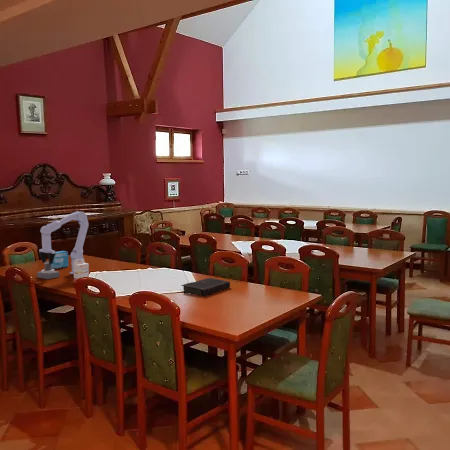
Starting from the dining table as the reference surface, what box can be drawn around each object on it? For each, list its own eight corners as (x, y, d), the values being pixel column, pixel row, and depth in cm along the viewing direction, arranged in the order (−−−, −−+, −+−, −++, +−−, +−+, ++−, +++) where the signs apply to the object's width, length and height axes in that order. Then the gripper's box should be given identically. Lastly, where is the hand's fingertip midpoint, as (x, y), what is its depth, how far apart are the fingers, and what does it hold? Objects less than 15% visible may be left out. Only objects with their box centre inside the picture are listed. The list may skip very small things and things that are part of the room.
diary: (230, 289, 286) (230, 281, 285) (205, 298, 266) (205, 289, 265) (206, 284, 297) (206, 277, 296) (180, 293, 276) (180, 284, 276)
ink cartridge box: (78, 283, 305) (77, 260, 303) (73, 282, 308) (72, 259, 306) (89, 280, 311) (88, 258, 310) (85, 279, 314) (84, 258, 313)
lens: (53, 271, 325) (52, 261, 324) (48, 272, 321) (47, 262, 320) (48, 271, 327) (48, 261, 326) (43, 272, 323) (42, 262, 322)
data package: (54, 268, 353) (53, 253, 352) (51, 268, 356) (50, 252, 355) (68, 266, 362) (67, 251, 361) (65, 265, 365) (64, 250, 364)
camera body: (59, 276, 324) (59, 269, 324) (48, 279, 317) (47, 272, 316) (48, 275, 331) (48, 268, 331) (37, 277, 324) (36, 270, 323)
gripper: (34, 243, 322) (36, 263, 324) (48, 245, 314) (49, 265, 316) (43, 242, 328) (44, 261, 330) (57, 243, 320) (58, 263, 322)
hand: (47, 263), depth 323 cm, fingers open, 7 cm apart
